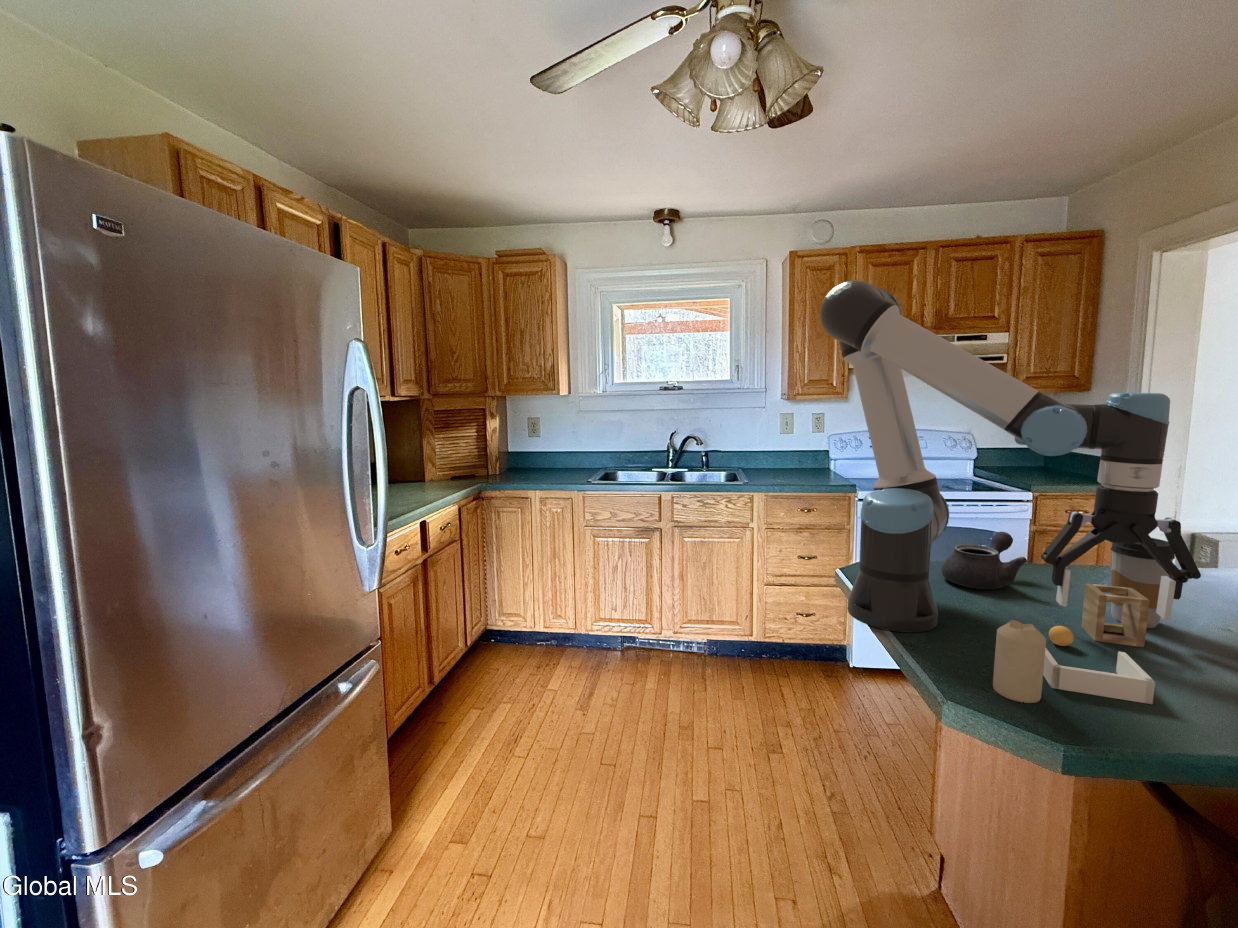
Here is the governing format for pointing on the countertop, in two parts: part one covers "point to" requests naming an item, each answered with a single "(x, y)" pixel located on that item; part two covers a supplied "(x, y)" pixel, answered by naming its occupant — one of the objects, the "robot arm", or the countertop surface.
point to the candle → (1019, 662)
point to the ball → (1061, 635)
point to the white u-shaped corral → (1102, 680)
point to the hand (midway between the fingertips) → (1110, 609)
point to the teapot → (982, 564)
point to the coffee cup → (1138, 575)
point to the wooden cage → (1131, 615)
